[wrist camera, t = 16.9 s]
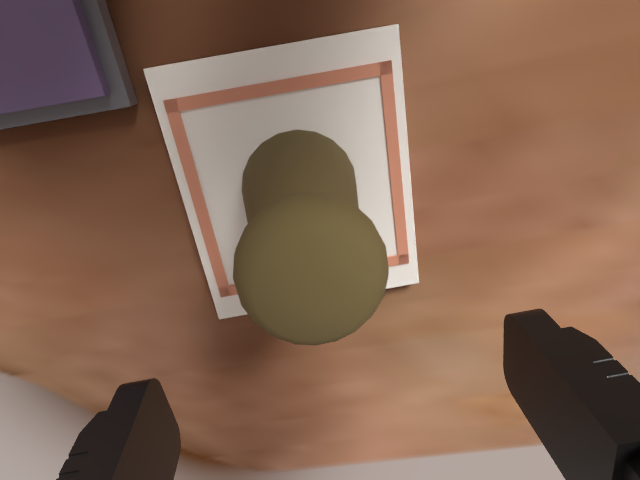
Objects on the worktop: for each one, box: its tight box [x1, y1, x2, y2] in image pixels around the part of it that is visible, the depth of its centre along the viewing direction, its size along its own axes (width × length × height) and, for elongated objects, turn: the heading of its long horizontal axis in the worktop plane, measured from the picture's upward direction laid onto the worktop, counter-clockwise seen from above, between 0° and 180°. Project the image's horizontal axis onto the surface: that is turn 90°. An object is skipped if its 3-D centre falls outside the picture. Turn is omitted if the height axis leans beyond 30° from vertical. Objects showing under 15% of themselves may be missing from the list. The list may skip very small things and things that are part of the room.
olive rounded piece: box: [233, 130, 389, 345], centre depth 19 cm, size 6×6×11 cm
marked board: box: [143, 24, 419, 319], centre depth 24 cm, size 14×12×1 cm
